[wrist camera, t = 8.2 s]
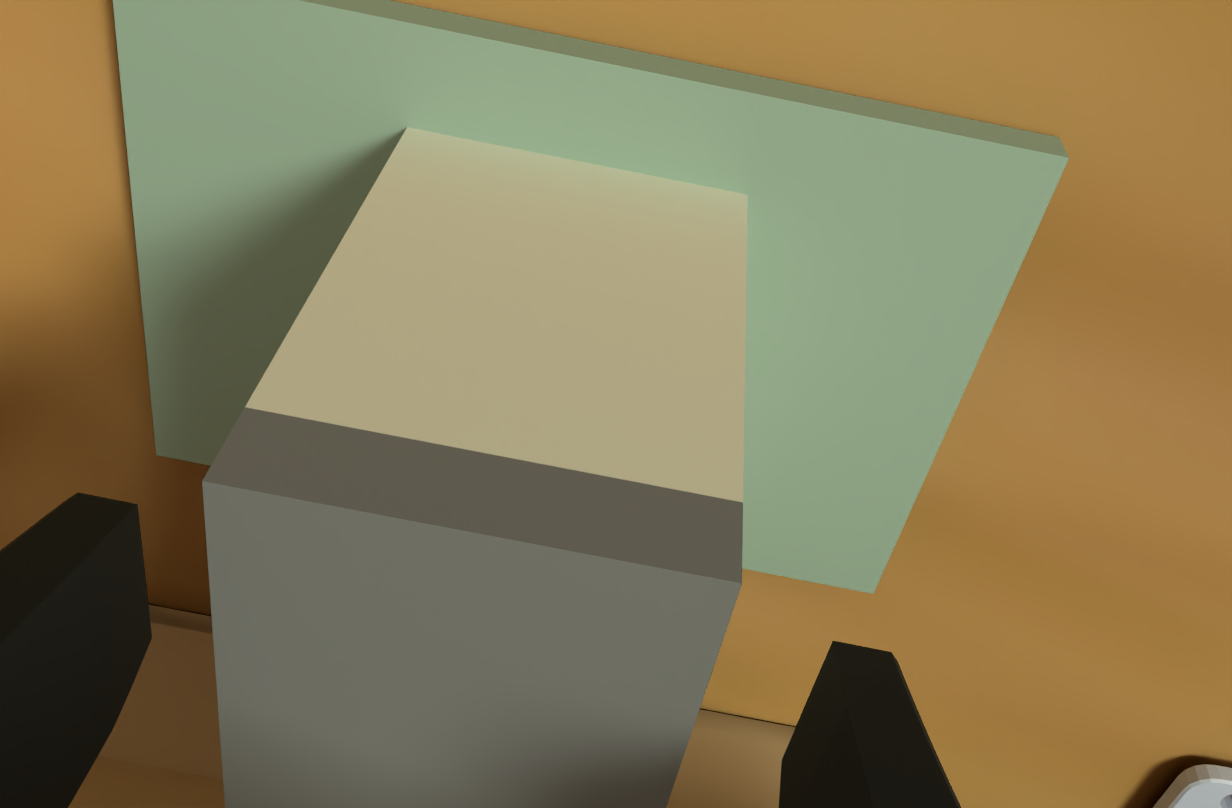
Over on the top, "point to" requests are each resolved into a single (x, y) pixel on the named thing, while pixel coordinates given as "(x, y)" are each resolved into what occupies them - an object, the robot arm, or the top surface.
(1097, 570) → the top surface
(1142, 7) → the top surface
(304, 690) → the block
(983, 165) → the pad
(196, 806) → the carton
